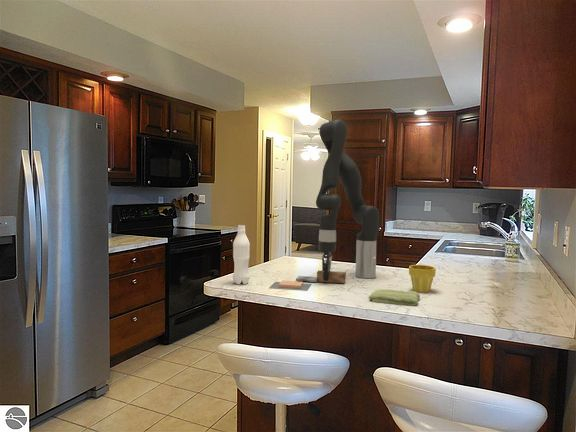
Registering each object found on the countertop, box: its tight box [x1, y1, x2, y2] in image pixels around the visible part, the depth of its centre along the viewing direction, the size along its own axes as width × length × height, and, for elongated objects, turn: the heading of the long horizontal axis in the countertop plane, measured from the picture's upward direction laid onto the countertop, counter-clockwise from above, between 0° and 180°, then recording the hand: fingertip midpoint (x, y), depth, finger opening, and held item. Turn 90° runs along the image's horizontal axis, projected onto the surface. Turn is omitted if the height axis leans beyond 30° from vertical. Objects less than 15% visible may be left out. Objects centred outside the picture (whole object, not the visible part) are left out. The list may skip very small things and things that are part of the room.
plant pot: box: [408, 264, 437, 293], centre depth 173 cm, size 10×10×10 cm
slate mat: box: [268, 281, 313, 292], centre depth 175 cm, size 16×12×1 cm
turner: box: [295, 270, 347, 284], centre depth 184 cm, size 21×6×4 cm, turn 78°
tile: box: [279, 280, 304, 289], centre depth 175 cm, size 1×7×9 cm
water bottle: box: [232, 224, 251, 285], centre depth 180 cm, size 7×7×25 cm
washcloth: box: [368, 289, 421, 307], centre depth 158 cm, size 13×18×3 cm
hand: (326, 279), depth 183 cm, fingers closed on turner, 4 cm apart
